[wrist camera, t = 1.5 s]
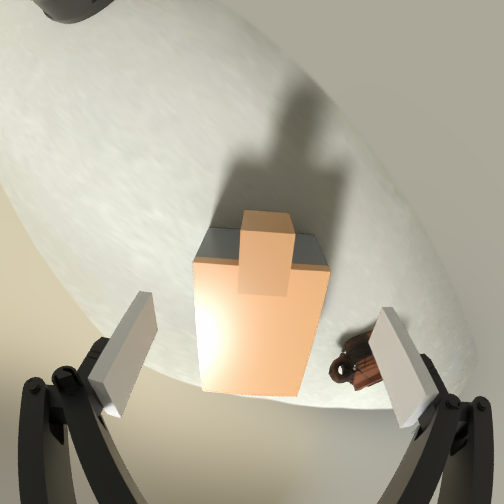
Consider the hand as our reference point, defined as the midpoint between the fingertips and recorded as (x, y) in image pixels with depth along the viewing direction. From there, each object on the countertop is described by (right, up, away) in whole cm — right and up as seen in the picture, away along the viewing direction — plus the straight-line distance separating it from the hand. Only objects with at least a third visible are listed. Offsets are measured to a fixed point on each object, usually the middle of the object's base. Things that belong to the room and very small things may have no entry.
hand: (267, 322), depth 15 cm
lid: (0, -3, +16) cm, 16 cm away
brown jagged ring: (+17, -13, +28) cm, 36 cm away
